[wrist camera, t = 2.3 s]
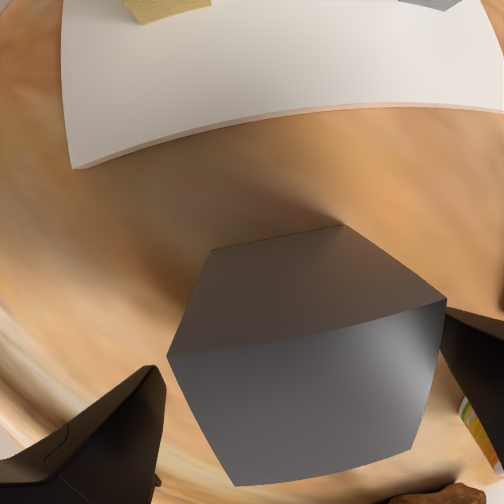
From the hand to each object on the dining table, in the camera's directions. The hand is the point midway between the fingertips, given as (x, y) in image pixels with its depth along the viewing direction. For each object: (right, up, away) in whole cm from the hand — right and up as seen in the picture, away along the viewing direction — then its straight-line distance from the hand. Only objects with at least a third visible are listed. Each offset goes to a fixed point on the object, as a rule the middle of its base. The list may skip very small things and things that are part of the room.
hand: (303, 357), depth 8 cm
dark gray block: (0, +1, +4) cm, 4 cm away
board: (+1, +14, 0) cm, 14 cm away
